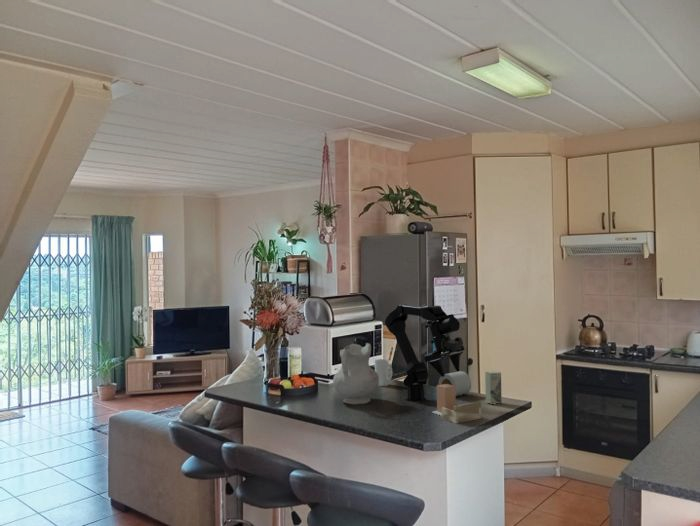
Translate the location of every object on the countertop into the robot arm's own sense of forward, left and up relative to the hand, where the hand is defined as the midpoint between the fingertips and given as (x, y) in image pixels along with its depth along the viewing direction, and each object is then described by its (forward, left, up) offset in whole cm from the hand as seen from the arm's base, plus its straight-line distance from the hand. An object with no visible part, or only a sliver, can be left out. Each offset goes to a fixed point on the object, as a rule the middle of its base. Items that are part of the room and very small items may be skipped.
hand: (450, 373), depth 219 cm
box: (+11, +15, -13) cm, 23 cm away
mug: (-48, +20, -13) cm, 54 cm away
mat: (+4, -10, -13) cm, 17 cm away
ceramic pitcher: (-38, -14, -13) cm, 43 cm away
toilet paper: (-9, +19, -14) cm, 25 cm away
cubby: (+11, -13, -13) cm, 21 cm away
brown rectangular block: (+4, -10, -13) cm, 17 cm away
